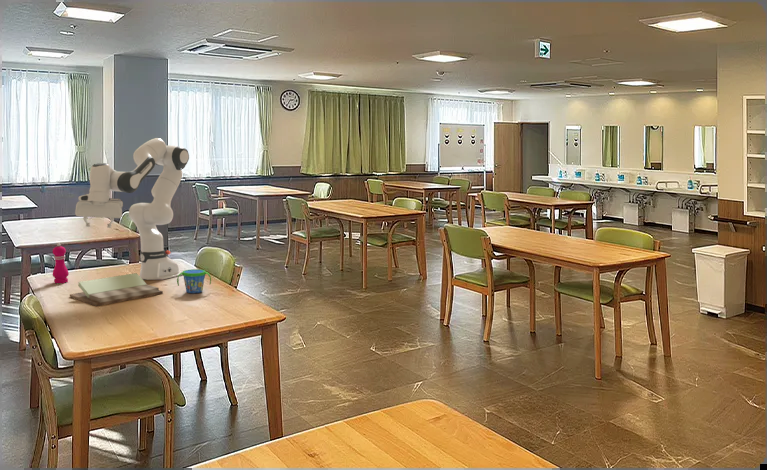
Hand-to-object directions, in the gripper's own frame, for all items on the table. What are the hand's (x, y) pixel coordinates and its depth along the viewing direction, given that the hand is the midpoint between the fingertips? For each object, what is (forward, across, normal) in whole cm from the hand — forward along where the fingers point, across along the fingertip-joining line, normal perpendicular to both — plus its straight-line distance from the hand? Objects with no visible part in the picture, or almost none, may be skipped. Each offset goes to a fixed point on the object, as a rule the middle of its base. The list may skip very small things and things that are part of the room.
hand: (98, 227), depth 308 cm
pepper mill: (+31, +21, -24) cm, 45 cm away
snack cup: (+29, -45, +9) cm, 54 cm away
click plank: (+27, -8, +7) cm, 29 cm away
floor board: (+31, -11, +10) cm, 34 cm away
